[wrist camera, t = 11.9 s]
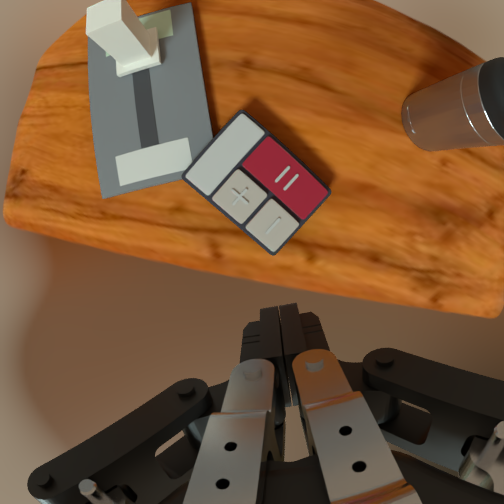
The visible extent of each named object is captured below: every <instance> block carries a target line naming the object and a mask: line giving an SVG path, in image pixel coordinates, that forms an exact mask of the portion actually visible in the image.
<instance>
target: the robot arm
mask: <svg viewBox="0 0 504 504" xmlns="http://www.w3.org/2000/svg"><path fill="white" fill-rule="evenodd" d="M402 122H403V125H404V129H405V131H406V133H407V135H408V136H409V138H410V139H411V140H412V141H413V142H414V144H416V145H417V146H418V147H419V148H421V149H423V150H426V151H440V150H450V149H460V148H471V147H484V146H497V145H504V58H503V57H500V58H495V59H493V60H490V61H487V62H485V63H482V64H480V65H477V66H475V67H472V68H470V69H468V70H465V71H463V72H461V73H458V74H456V75H454V76H451V77H449V78H447V79H444V80H442V81H440V82H438V83H435V84H433V85H431V86H429V87H426V88H424V89H422V90H420V91H418V92H416V93H413V94H412V95H410V96H409V97H408V98H407V99H406V100H405V102H404V103H403V107H402ZM279 309H280V316H279V310H278V306H275V307H269V308H263V309H260V321H256V322H249V323H248V325H247V326H246V327H245V328H244V330H243V339H242V348H241V356H240V364H238V365H237V366H236V367H235V368H234V369H233V370H232V372H231V376H230V379H229V380H228V381H226V382H224V383H221V384H218V385H215V386H211V387H208V386H207V384H206V383H205V382H204V381H202V380H200V379H196V378H189V379H184V380H181V381H178V382H176V383H175V384H173V385H172V386H170V387H169V388H167V389H166V390H164V391H163V392H161V393H160V394H158V395H157V396H155V397H154V398H152V399H151V400H149V401H148V402H146V403H145V404H143V405H142V406H140V407H139V408H137V409H135V410H134V411H132V412H131V413H129V414H128V415H126V416H125V417H123V418H122V419H120V420H118V421H117V422H115V423H113V424H112V425H110V426H109V427H107V428H105V429H104V430H102V431H101V432H99V433H97V434H96V435H94V436H92V437H91V438H89V439H87V440H86V441H84V442H82V443H81V444H79V445H77V446H76V447H74V448H72V449H70V450H68V451H67V452H65V453H63V454H62V455H60V456H58V457H56V458H54V459H52V460H51V461H49V462H47V463H45V464H43V465H42V466H40V467H38V468H36V469H35V470H34V471H33V472H32V473H31V475H30V476H29V479H28V483H27V486H28V490H29V492H30V494H31V495H32V496H33V497H34V498H35V499H37V500H38V501H39V502H40V503H41V504H504V381H501V380H497V379H494V378H490V377H486V376H483V375H479V374H476V373H472V372H468V371H465V370H462V369H458V368H455V367H451V366H448V365H445V364H442V363H438V362H435V361H432V360H428V359H425V358H422V357H419V356H416V355H412V354H409V353H406V352H403V351H400V350H397V349H393V348H380V349H376V350H374V351H371V352H370V353H368V354H367V355H366V356H365V357H364V359H363V362H360V363H351V362H343V361H340V360H338V359H336V356H335V355H334V354H333V353H332V352H330V350H329V346H328V343H327V341H326V338H325V335H324V332H323V329H322V326H321V323H320V321H319V318H318V316H316V315H315V314H313V313H312V312H308V313H302V314H299V312H298V308H297V303H292V304H286V305H280V306H279ZM280 318H281V321H280ZM288 377H289V378H288ZM289 383H290V387H289ZM290 389H291V395H292V400H293V406H296V405H299V411H300V418H301V424H302V428H303V432H304V436H305V440H306V445H307V449H308V453H309V457H306V458H303V459H300V460H298V461H294V462H284V458H285V457H284V456H285V433H286V422H285V417H286V411H285V407H290V406H291V397H290ZM402 400H404V401H406V402H409V403H411V404H414V405H417V406H419V407H422V408H424V409H426V410H428V411H429V412H430V413H431V414H429V413H427V412H424V411H422V410H419V409H417V408H414V407H411V406H409V405H406V404H404V403H401V402H402ZM181 430H183V432H184V434H185V435H184V437H182V438H181V439H179V440H178V441H177V442H175V443H174V444H173V445H171V446H170V447H168V448H167V449H166V450H164V451H163V452H162V453H160V454H159V455H157V456H156V457H155V452H156V450H157V449H158V448H159V447H160V446H161V445H162V444H164V443H165V442H167V441H168V440H169V439H171V438H172V437H174V436H175V435H176V434H178V433H179V432H180V431H181ZM386 441H387V442H390V443H391V444H394V445H396V446H398V447H400V448H402V449H404V450H407V451H409V452H411V453H414V454H416V455H418V456H420V457H423V458H425V459H427V460H430V461H432V462H434V463H437V464H439V465H442V466H444V467H447V468H450V469H452V470H455V471H458V472H459V478H458V477H455V476H453V475H451V474H448V473H446V472H444V471H441V470H439V469H437V468H435V467H433V466H430V465H428V464H426V463H424V462H422V461H420V460H418V459H416V458H414V457H412V456H410V455H407V454H404V453H401V452H397V451H393V450H390V449H389V447H388V445H387V443H386Z"/></svg>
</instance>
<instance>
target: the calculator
mask: <svg viewBox="0 0 504 504" xmlns="http://www.w3.org/2000/svg"><path fill="white" fill-rule="evenodd" d="M181 177H182V179H183V180H184V181H185V182H186V183H188V184H189V185H190V186H191V187H192V188H193V189H195V190H196V191H197V192H198V193H199V194H201V195H202V196H203V197H204V198H205V199H206V200H208V201H209V202H210V203H211V204H212V205H213V206H215V207H216V208H217V209H218V210H219V211H220V212H222V213H223V214H224V215H225V216H226V217H227V218H229V219H230V220H231V221H232V222H233V223H234V224H236V225H237V226H238V227H239V228H240V229H241V230H243V231H244V232H245V233H246V234H247V235H248V236H250V237H251V238H252V239H253V240H254V241H255V242H257V243H258V244H259V245H260V246H261V247H262V248H263V249H265V250H266V251H267V252H268V253H269V254H271V255H276V254H277V253H278V252H279V250H280V249H281V248H282V247H283V246H284V245H285V244H286V243H287V242H288V241H289V240H290V239H291V237H292V236H293V235H294V234H295V233H296V232H297V231H298V230H299V229H300V228H301V226H302V225H303V224H304V223H305V222H306V221H307V220H308V219H309V218H310V217H311V216H312V214H313V213H314V212H315V211H316V210H317V209H318V208H319V207H320V206H321V204H322V203H323V202H324V201H325V200H326V199H327V198H328V197H329V196H330V194H331V189H330V188H329V187H328V186H327V185H326V184H325V183H324V182H323V181H322V180H321V179H320V178H319V177H318V176H317V175H316V174H315V173H313V172H312V171H311V170H310V169H309V168H308V167H307V166H306V165H305V164H304V163H303V162H302V161H301V160H300V159H299V158H298V157H297V156H296V155H295V154H293V153H292V152H291V151H290V150H289V149H288V148H287V147H286V146H285V145H284V144H283V143H281V142H280V141H279V140H278V139H277V138H276V137H275V136H274V135H272V134H271V133H270V132H269V131H268V130H267V129H266V128H264V127H263V126H262V125H261V124H260V123H259V122H258V121H256V120H255V119H254V118H253V117H252V116H250V115H249V114H248V113H247V112H246V111H244V110H239V111H238V112H237V113H236V114H235V115H234V116H233V117H232V119H231V120H230V121H229V122H228V123H227V124H226V125H225V126H224V127H223V128H222V129H221V130H220V131H219V132H218V134H217V135H216V136H215V137H214V138H213V139H212V140H211V141H210V142H209V143H208V145H207V146H206V147H205V148H204V149H203V150H202V151H201V152H200V154H199V155H198V156H197V157H196V158H195V159H194V161H193V162H192V163H191V164H190V165H189V166H188V168H187V169H186V170H185V171H184V172H183V174H182V176H181Z"/></svg>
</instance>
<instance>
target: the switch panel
mask: <svg viewBox="0 0 504 504" xmlns="http://www.w3.org/2000/svg"><path fill="white" fill-rule="evenodd" d="M138 19H139V20H140V21H141V23H142V24H143V26H144V27H145V29H146V30H147V29H150V28H154V27H156V28H157V30H158V38H159V47H160V57H161V65H157V66H154V67H150V68H147V69H144V70H140V71H137V72H134V73H131V74H128V75H125V76H122V77H118V76H117V71H116V60H115V59H114V58H113V57H112V56H111V55H109V54H108V53H107V52H106V51H105V50H104V49H103V48H101V47H100V46H99V45H98V44H97V43H96V42H95V41H93V40H92V39H91V38H90V37H89V36H88V77H89V97H90V111H91V122H92V132H93V141H94V149H95V156H96V163H97V170H98V176H99V182H100V188H101V194H102V199H105V198H110V197H113V196H117V195H121V194H124V193H128V192H132V191H136V190H140V189H144V188H148V187H152V186H156V185H160V184H165V183H169V182H173V181H178V180H182V177H181V176H182V174H183V172H184V171H185V170H186V169H187V168H188V166H189V165H190V164H191V163H192V162H193V161H194V159H195V158H196V157H197V156H198V155H199V154H200V152H201V151H202V150H203V149H204V148H205V147H206V146H207V145H208V143H209V142H210V141H211V140H212V139H213V138H214V137H213V131H212V125H211V119H210V113H209V108H208V102H207V96H206V90H205V84H204V78H203V71H202V65H201V59H200V53H199V46H198V40H197V34H196V27H195V21H194V14H193V7H192V4H191V2H190V3H186V4H181V5H177V6H173V7H169V8H166V9H162V10H158V11H155V12H151V13H148V14H145V15H142V16H139V17H138Z"/></svg>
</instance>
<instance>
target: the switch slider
mask: <svg viewBox="0 0 504 504" xmlns="http://www.w3.org/2000/svg"><path fill="white" fill-rule="evenodd" d="M86 35H88V36H89V37H90V38H91V39H92V40H93V41H95V42H96V43H97V44H98V45H99V46H100V47H101V48H103V49H104V50H105V51H106V52H107V53H108V54H109V55H111V56H112V57H113V58H114V59H115V60H116V71H117V76H118V77H122V76H125V75H128V74H131V73H134V72H137V71H140V70H144V69H147V68H150V67H154V66H157V65H161V57H160V47H159V38H158V30H157V28H156V27H154V28H150V29H147V30H146V29H145V27H144V26H143V24H142V23H141V21H140V20H139V19H138V17H137V16H136V14H135V13H134V11H133V10H132V8H131V7H130V6H129V4H128V3H127V1H126V0H104V1H102V2H99V3H97V4H95V5H92V6H90V7H88V8H87V20H86Z"/></svg>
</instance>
